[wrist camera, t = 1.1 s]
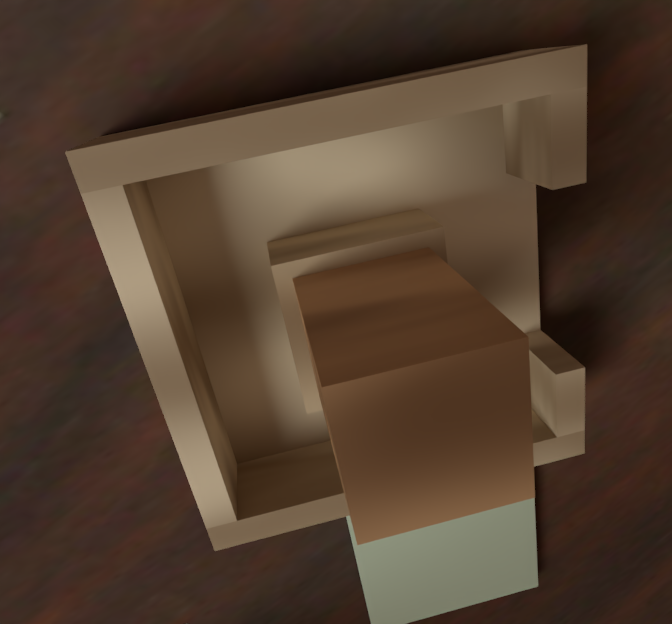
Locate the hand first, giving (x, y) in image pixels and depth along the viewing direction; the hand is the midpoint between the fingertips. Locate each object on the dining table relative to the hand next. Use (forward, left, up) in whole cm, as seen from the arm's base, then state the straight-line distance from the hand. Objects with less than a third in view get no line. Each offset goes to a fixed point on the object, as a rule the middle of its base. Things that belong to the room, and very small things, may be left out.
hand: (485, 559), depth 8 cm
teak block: (0, 0, -9) cm, 9 cm away
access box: (0, 0, -12) cm, 12 cm away
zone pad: (-13, -2, -12) cm, 17 cm away
